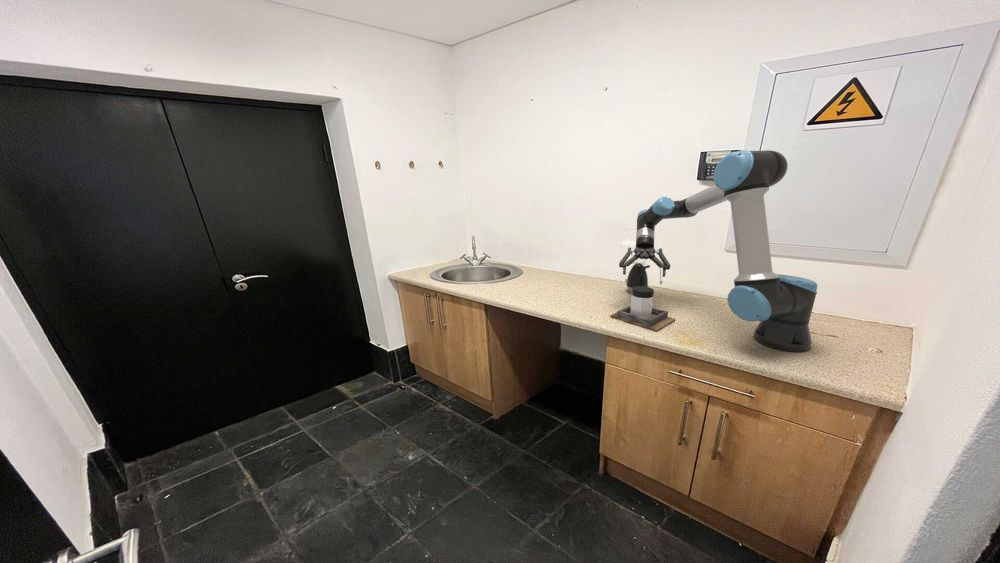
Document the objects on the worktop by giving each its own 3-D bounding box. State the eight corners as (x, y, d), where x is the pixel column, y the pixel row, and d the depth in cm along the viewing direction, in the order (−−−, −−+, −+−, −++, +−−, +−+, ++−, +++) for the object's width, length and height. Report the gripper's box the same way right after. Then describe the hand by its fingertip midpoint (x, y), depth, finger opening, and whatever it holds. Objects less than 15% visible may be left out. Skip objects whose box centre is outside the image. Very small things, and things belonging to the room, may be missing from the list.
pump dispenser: (648, 295, 164) (651, 266, 160) (625, 294, 168) (628, 265, 163) (646, 289, 173) (649, 261, 169) (625, 288, 177) (627, 260, 173)
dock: (675, 321, 134) (676, 313, 133) (656, 332, 125) (657, 323, 124) (629, 308, 149) (630, 301, 148) (610, 317, 140) (610, 309, 139)
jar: (650, 322, 132) (653, 293, 128) (628, 319, 135) (631, 291, 132) (651, 314, 139) (654, 286, 136) (630, 311, 143) (633, 284, 139)
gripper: (674, 246, 148) (675, 288, 139) (615, 244, 156) (612, 283, 147) (677, 236, 142) (678, 279, 132) (615, 235, 150) (612, 275, 141)
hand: (643, 281), depth 140 cm, fingers open, 13 cm apart
